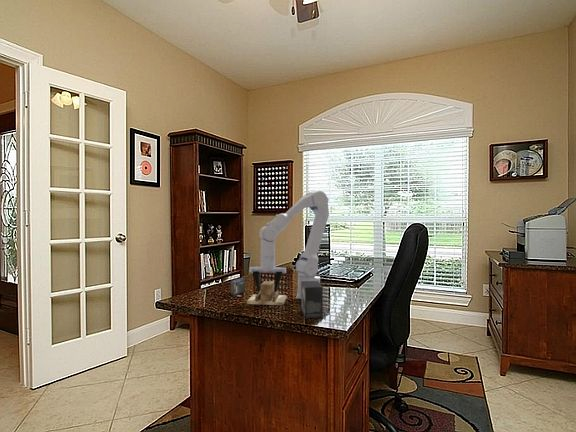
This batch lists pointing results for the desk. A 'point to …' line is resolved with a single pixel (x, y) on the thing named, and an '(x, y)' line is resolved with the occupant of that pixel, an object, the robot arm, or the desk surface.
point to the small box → (312, 299)
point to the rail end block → (267, 290)
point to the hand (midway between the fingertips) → (267, 290)
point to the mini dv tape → (237, 286)
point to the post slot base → (275, 300)
